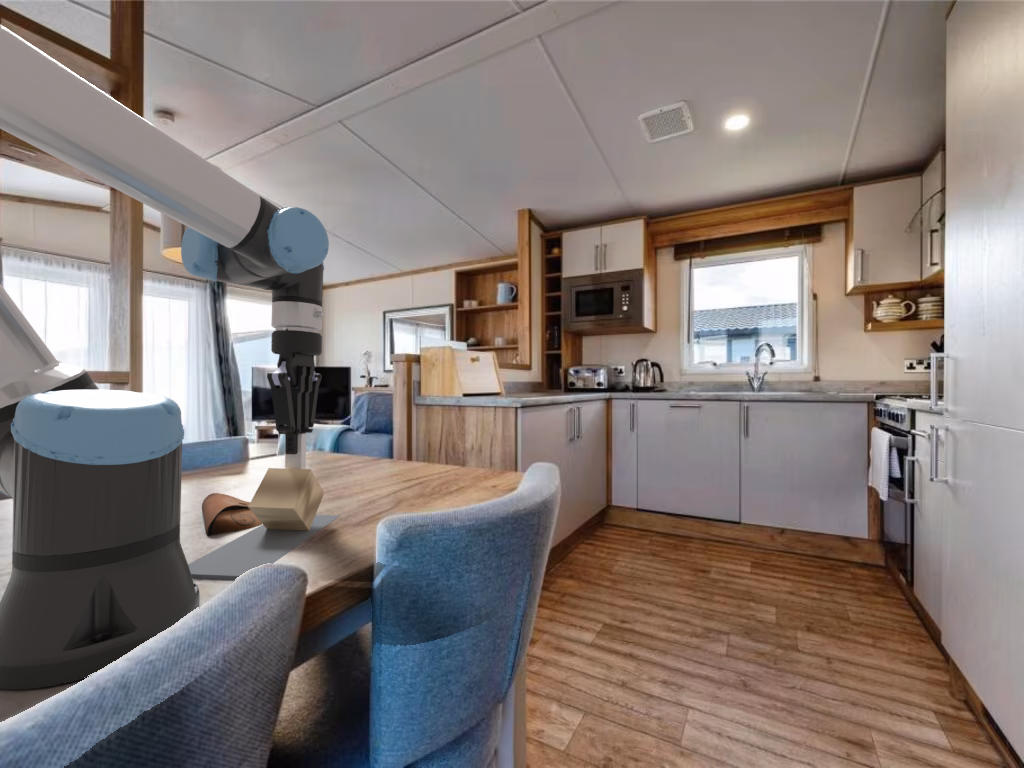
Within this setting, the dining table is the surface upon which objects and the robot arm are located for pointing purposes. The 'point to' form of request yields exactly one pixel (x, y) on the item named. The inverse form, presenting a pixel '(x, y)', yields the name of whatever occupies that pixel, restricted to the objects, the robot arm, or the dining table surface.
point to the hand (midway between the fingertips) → (295, 472)
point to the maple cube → (287, 499)
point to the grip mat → (252, 551)
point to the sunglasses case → (227, 514)
